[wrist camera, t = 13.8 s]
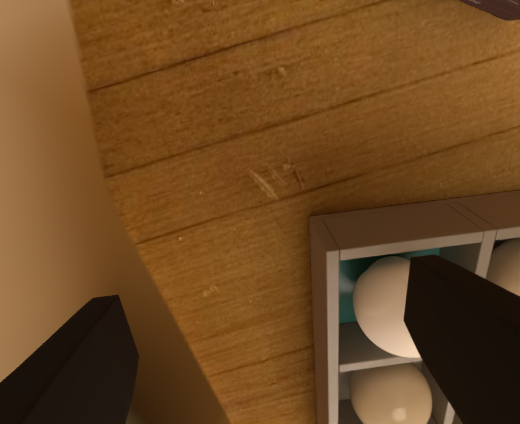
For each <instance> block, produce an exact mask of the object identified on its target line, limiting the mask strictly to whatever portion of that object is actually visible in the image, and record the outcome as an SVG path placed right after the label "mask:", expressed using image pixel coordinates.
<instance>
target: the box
mask: <svg viewBox="0 0 520 424" xmlns="http://www.w3.org/2000/svg"><path fill="white" fill-rule="evenodd" d="M460 1H462V2H464V3H467V4H469V5H471V6H474V7H476V8H479V9H480V10H484V11H486V12H488V13H491V14H493V15H495V16H497V17H499V18H502V19H504V20H509V21H510V20H520V0H460Z"/></svg>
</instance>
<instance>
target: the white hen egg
mask: <svg viewBox="0 0 520 424" xmlns="http://www.w3.org/2000/svg"><path fill="white" fill-rule="evenodd" d="M409 267H410V261H409V260H407V259H405V258H402V257H398V256H389V257H384V258H381V259H379V260H377V261H375V262H374V263H372V264H371V265H370V266H369V268H368V269H367V270H366V271H365V272H364V273H362V274H361V276H360V277H359V278H358V280H357V281H356V284H355V286H354V290H353V307H354V312H355V316H356V319H357V321H358V324H359V326H360V327H361V329H362V331H363V332H364V333H365V335H366V336H367V337H368V338H369V339H370V340H371V341H372V342H373V343H374V344H375V345H377V346H378V347H380V348H381V349H383V350H385V351H387V352H389V353H391V354H394V355H397V356H401V357H408V358H418V357H420V355H419V353H418V351H417V349H416V346H415V344H414V342H413V340H412V338H411V336H410V334H409V332H408V329H407V327H406V325H405V323H404V321H403V319H404V311H405V302H406V293H407V285H408V276H409Z"/></svg>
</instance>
